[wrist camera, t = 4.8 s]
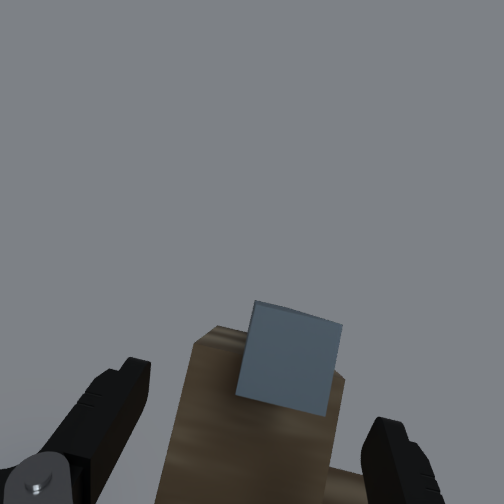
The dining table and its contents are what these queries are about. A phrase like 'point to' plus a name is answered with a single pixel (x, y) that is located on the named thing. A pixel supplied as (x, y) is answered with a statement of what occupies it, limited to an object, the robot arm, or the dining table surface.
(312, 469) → the plinth
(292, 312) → the blue-gray bar
